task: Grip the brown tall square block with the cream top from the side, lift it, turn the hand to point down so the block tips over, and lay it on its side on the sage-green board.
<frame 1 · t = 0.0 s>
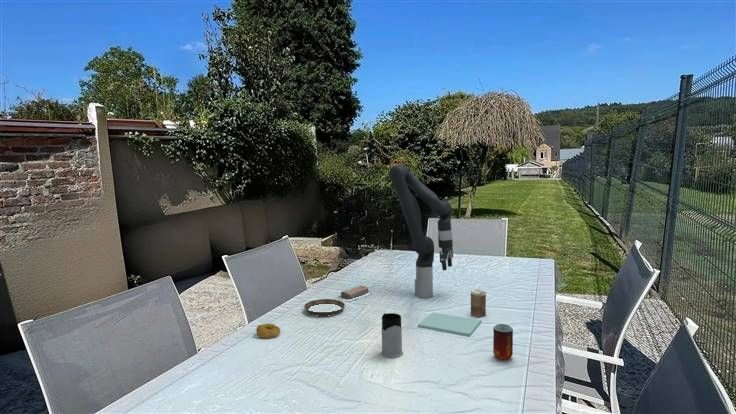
hand: (447, 268, 235), 17 cm above the table, tool pointing down, fingers open, 8 cm apart
soda can: (502, 358, 166), on the table
packaged product: (354, 297, 246), on the table
brown tall square block: (478, 315, 212), on the table
glass holder: (389, 351, 174), on the table
sage board: (449, 324, 200), on the table
bagel: (268, 335, 193), on the table
plant saucer: (324, 311, 223), on the table
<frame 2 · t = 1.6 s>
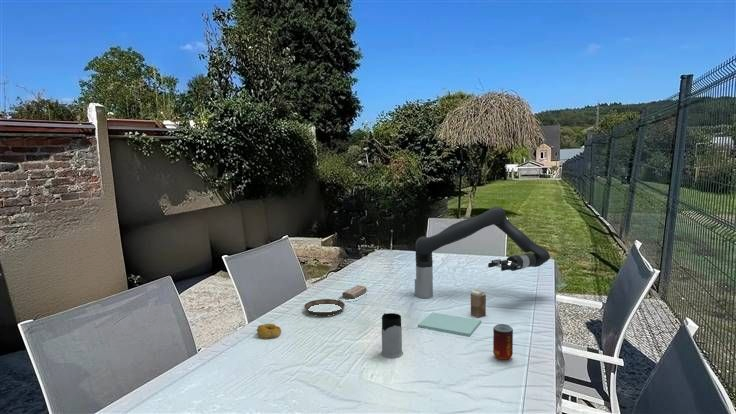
hand: (495, 267, 215), 22 cm above the table, tool horizontal, fingers open, 8 cm apart
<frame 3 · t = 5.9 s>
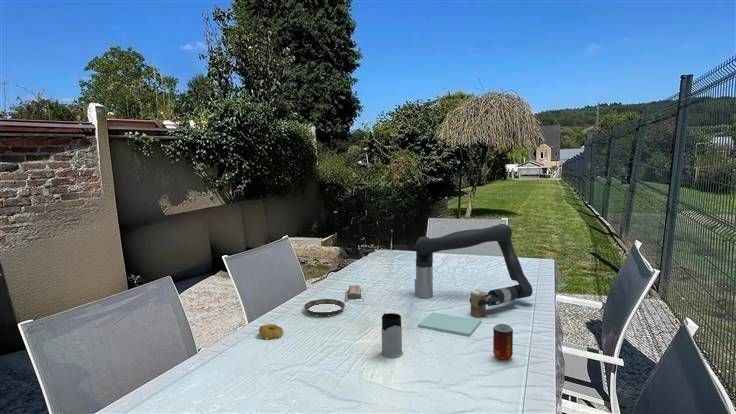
hand: (474, 302, 209), 7 cm above the table, tool horizontal, fingers closed on brown tall square block, 5 cm apart
brown tall square block: (478, 315, 212), on the table, touching gripper
bagel: (271, 336, 192), on the table
when the fingers open (3 cm above the table, at t = 12.0 s): brown tall square block drops 1 cm, resting on sage board.
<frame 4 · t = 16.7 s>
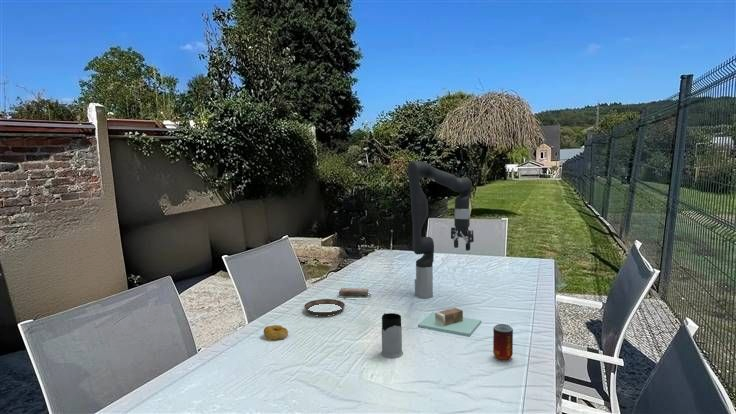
hand: (461, 249, 222), 30 cm above the table, tool pointing down, fingers open, 8 cm apart
brown tall square block: (459, 314, 203), point 4 cm above the table, tilted 90°, touching sage board
bagel: (276, 337, 191), on the table
at the end: brown tall square block tilted 90°; brown tall square block inside the target area on the sage board (5.4 cm from its centre), point 3.7 cm above the sage board's base; the gripper is holding nothing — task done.
